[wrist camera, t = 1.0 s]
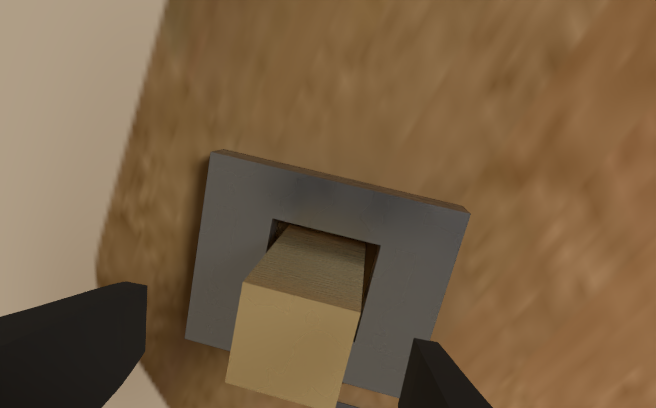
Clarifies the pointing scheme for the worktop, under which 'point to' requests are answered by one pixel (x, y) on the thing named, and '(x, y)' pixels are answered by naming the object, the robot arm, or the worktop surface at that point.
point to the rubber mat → (343, 405)
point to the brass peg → (299, 318)
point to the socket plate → (338, 218)
